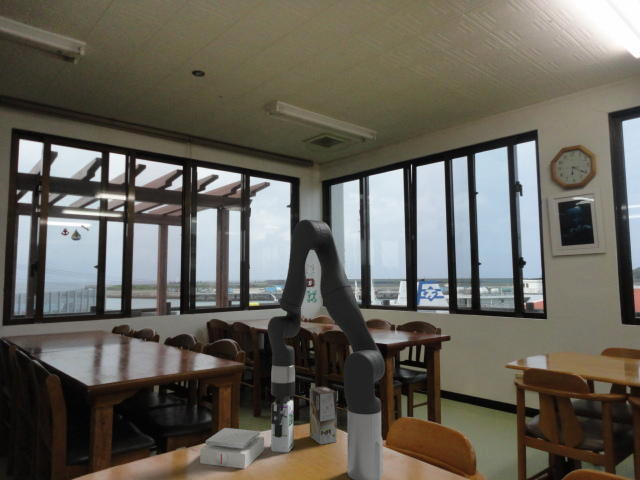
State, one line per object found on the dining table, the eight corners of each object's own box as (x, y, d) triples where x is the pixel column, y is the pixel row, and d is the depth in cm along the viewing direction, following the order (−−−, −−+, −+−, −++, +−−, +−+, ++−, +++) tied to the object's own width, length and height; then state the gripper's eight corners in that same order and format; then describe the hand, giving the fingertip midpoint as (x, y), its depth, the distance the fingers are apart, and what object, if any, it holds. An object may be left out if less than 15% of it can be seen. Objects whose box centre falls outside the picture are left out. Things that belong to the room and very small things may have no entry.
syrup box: (288, 453, 137) (289, 404, 139) (270, 451, 139) (271, 403, 140) (293, 446, 143) (294, 399, 144) (275, 444, 144) (276, 398, 146)
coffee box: (337, 442, 147) (337, 391, 148) (319, 445, 144) (320, 393, 146) (325, 433, 155) (325, 385, 157) (308, 436, 153) (308, 387, 154)
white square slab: (263, 450, 139) (264, 437, 140) (243, 469, 125) (244, 454, 125) (222, 446, 143) (223, 433, 143) (198, 464, 129) (199, 449, 129)
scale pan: (259, 434, 139) (259, 431, 139) (243, 448, 127) (243, 444, 128) (224, 431, 142) (224, 427, 142) (205, 444, 131) (205, 440, 131)
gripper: (286, 385, 135) (286, 442, 133) (301, 375, 149) (300, 427, 147) (263, 383, 137) (262, 439, 135) (279, 374, 151) (279, 425, 149)
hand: (282, 432), depth 141 cm, fingers open, 7 cm apart
